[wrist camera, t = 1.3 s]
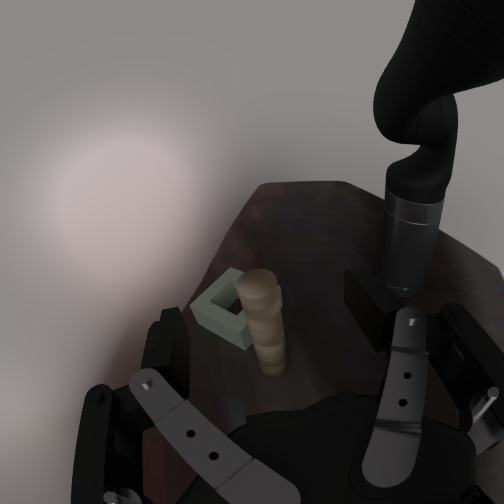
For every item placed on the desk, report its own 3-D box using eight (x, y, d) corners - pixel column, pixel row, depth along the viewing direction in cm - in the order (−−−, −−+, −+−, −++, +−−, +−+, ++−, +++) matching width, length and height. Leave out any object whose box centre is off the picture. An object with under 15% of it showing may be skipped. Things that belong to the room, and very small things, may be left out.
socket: (235, 286, 49) (230, 267, 46) (282, 305, 43) (280, 285, 41) (198, 323, 43) (189, 305, 41) (245, 350, 38) (239, 332, 35)
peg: (270, 350, 37) (252, 264, 28) (293, 361, 35) (284, 275, 25) (255, 369, 35) (228, 288, 25) (278, 382, 33) (261, 302, 23)
